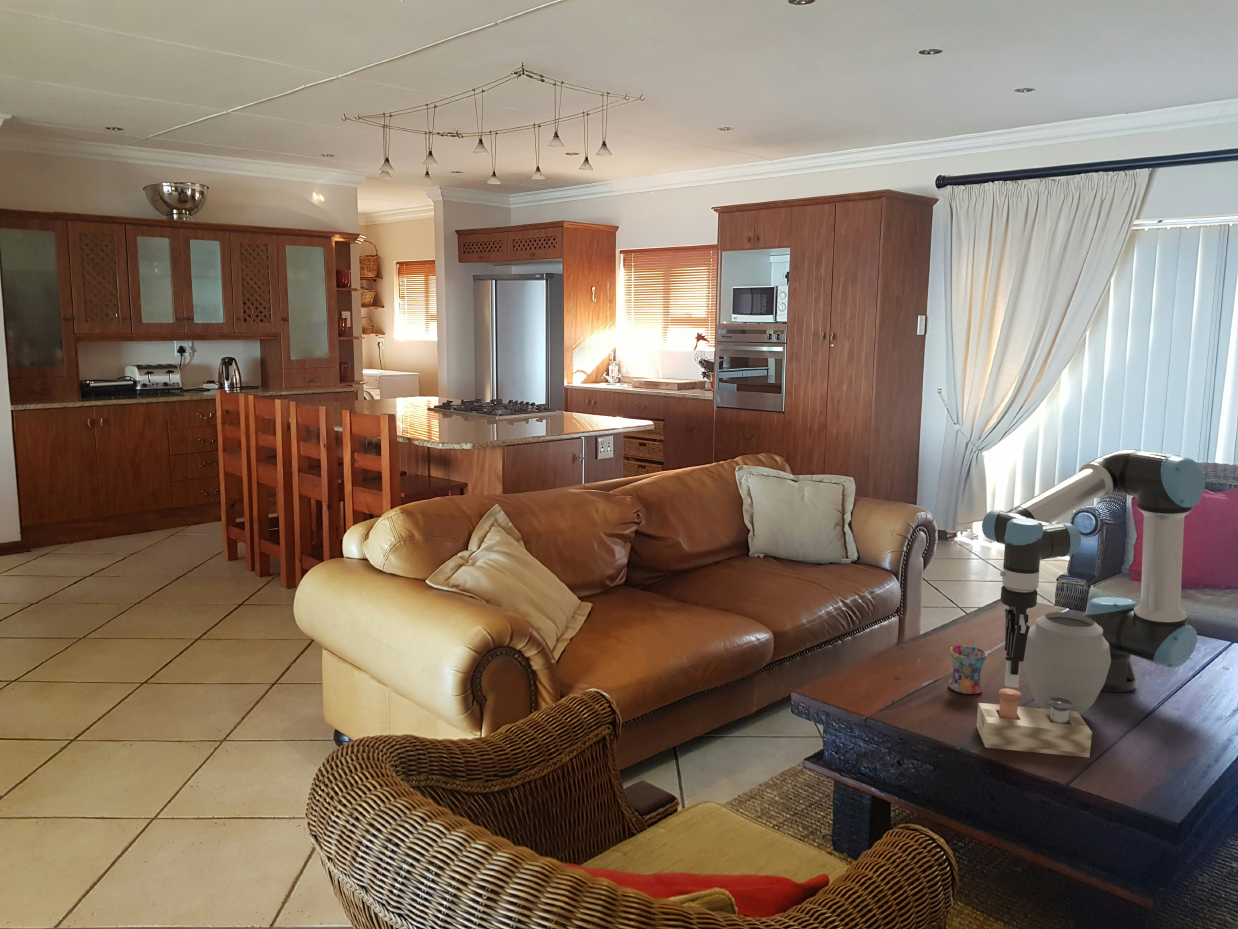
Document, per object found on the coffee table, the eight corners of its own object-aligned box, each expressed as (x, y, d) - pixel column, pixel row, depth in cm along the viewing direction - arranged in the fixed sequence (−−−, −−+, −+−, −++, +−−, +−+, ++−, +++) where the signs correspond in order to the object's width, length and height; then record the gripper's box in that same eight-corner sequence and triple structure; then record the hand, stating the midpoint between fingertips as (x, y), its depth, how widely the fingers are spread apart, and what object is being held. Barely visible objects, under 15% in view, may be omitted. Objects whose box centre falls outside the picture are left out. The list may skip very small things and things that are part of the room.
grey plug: (1065, 734, 212) (1068, 698, 211) (1071, 743, 207) (1074, 707, 206) (1043, 732, 213) (1046, 696, 212) (1048, 741, 208) (1052, 705, 207)
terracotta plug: (1015, 725, 214) (1018, 689, 213) (1020, 734, 209) (1023, 697, 208) (993, 723, 215) (996, 687, 213) (997, 732, 210) (1001, 696, 209)
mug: (973, 700, 234) (977, 660, 232) (940, 689, 241) (942, 650, 239) (995, 687, 242) (998, 649, 240) (961, 677, 249) (964, 640, 247)
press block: (1075, 735, 215) (1077, 711, 214) (1089, 757, 204) (1092, 732, 203) (976, 726, 219) (978, 702, 218) (985, 747, 208) (987, 722, 207)
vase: (1100, 738, 214) (1111, 639, 210) (1011, 718, 224) (1020, 622, 220) (1107, 708, 230) (1117, 615, 226) (1024, 690, 240) (1032, 601, 236)
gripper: (995, 578, 214) (988, 673, 218) (1008, 595, 201) (1000, 696, 205) (1030, 580, 212) (1022, 676, 216) (1044, 597, 200) (1036, 699, 204)
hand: (1011, 685), depth 211 cm, fingers closed
